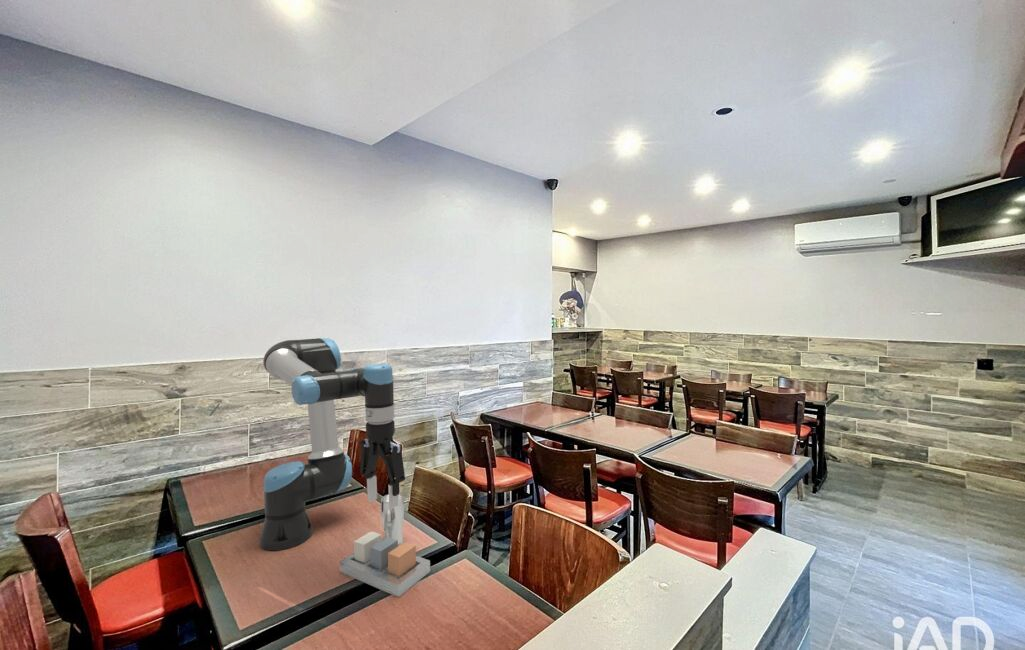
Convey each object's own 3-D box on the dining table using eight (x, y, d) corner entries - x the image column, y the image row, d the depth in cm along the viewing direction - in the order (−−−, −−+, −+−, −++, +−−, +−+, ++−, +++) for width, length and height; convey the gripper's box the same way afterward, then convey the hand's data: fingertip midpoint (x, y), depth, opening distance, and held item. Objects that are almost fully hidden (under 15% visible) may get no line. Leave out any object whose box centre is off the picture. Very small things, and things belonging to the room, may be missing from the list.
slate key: (371, 565, 116) (370, 547, 116) (388, 554, 121) (387, 536, 121) (381, 569, 114) (380, 551, 114) (398, 557, 119) (397, 540, 119)
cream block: (354, 558, 119) (353, 541, 119) (372, 548, 125) (371, 531, 124) (364, 562, 117) (363, 545, 117) (381, 551, 123) (381, 534, 122)
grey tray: (340, 575, 118) (340, 561, 118) (374, 553, 128) (374, 540, 128) (398, 600, 107) (397, 585, 107) (430, 574, 117) (429, 560, 117)
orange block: (388, 571, 113) (387, 553, 112) (405, 559, 118) (404, 542, 118) (399, 576, 111) (398, 557, 110) (416, 563, 116) (415, 545, 116)
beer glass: (399, 551, 129) (397, 503, 129) (377, 549, 130) (376, 501, 130) (409, 539, 136) (407, 493, 135) (388, 538, 137) (387, 492, 137)
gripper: (343, 420, 118) (346, 501, 119) (397, 428, 108) (400, 517, 109) (365, 414, 125) (368, 491, 125) (417, 421, 115) (420, 505, 115)
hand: (383, 503), depth 117 cm, fingers open, 8 cm apart
